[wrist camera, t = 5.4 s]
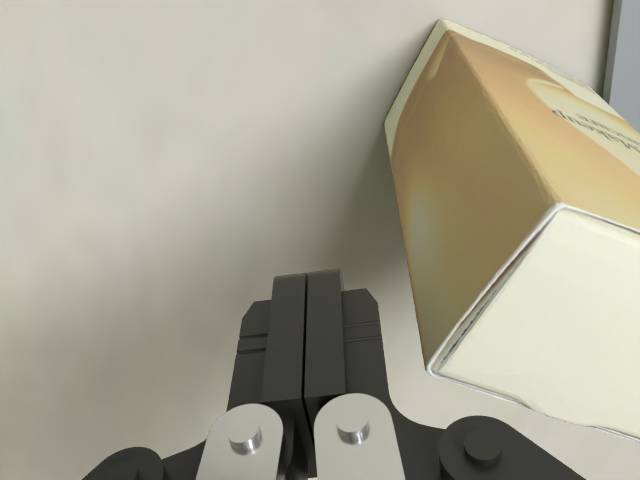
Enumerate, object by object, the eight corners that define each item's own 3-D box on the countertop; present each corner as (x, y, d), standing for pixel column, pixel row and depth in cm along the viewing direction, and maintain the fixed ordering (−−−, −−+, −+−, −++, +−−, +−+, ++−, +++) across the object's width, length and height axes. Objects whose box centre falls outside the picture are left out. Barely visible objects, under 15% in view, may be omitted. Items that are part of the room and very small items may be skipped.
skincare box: (592, 83, 20) (873, 325, 10) (521, 185, 22) (689, 465, 12) (430, 8, 18) (562, 197, 8) (372, 124, 21) (421, 384, 11)
